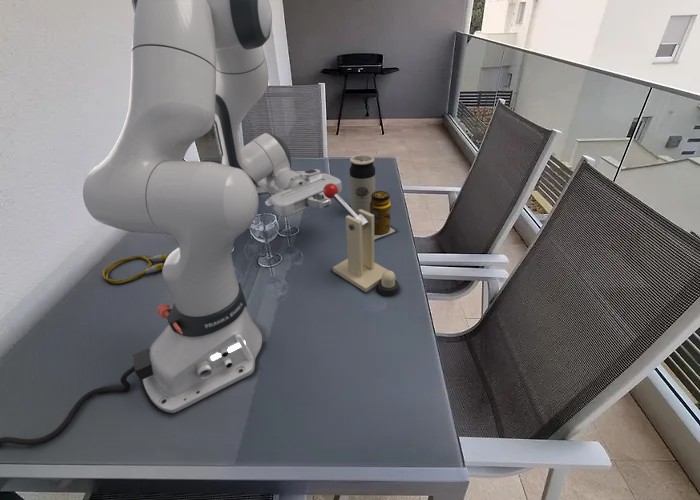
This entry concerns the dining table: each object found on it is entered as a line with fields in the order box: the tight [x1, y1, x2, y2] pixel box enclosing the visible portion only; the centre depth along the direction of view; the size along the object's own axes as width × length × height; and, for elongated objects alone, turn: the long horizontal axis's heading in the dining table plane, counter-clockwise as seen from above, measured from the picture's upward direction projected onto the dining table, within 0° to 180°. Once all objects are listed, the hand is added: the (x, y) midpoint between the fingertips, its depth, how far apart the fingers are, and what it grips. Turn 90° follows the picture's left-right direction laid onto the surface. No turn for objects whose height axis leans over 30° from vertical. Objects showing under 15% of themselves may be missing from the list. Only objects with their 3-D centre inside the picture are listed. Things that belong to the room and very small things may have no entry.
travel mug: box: [349, 154, 376, 215], centre depth 111 cm, size 8×8×18 cm
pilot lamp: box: [377, 269, 399, 297], centre depth 82 cm, size 5×5×5 cm
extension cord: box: [102, 254, 170, 285], centre depth 93 cm, size 12×16×2 cm
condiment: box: [370, 190, 396, 241], centre depth 102 cm, size 7×8×12 cm
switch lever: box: [323, 183, 369, 230], centre depth 82 cm, size 14×4×4 cm, turn 44°
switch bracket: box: [332, 209, 388, 293], centre depth 84 cm, size 12×9×17 cm
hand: (326, 204), depth 88 cm, fingers closed
